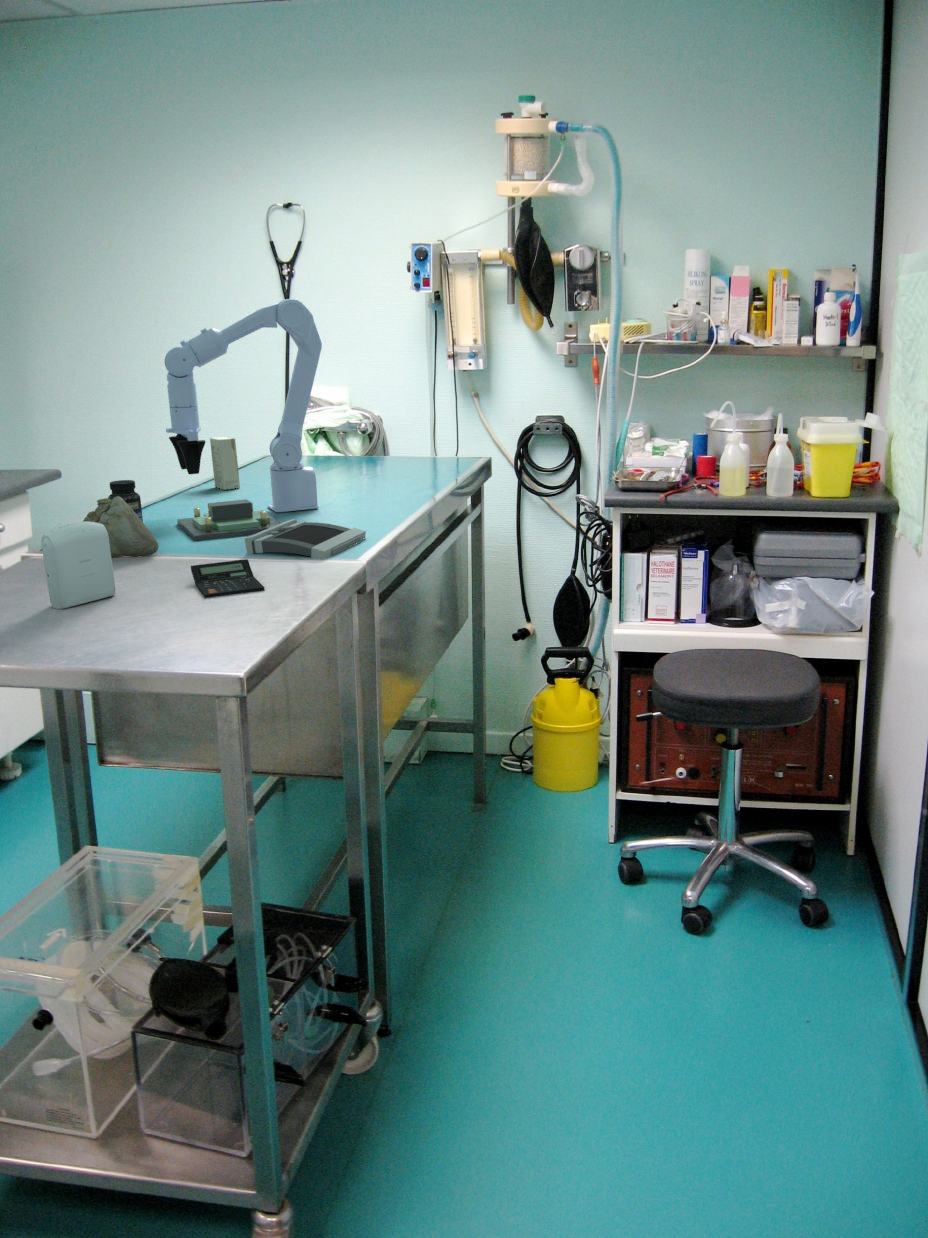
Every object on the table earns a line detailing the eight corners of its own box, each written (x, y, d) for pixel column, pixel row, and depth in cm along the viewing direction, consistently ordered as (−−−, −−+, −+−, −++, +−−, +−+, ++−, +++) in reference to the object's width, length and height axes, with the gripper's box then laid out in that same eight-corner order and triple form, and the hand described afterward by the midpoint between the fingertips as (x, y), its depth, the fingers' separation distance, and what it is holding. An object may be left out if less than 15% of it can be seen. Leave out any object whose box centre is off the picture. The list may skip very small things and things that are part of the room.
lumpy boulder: (135, 573, 187) (62, 541, 189) (161, 579, 198) (92, 549, 200) (160, 513, 187) (86, 483, 189) (185, 523, 198) (115, 494, 200)
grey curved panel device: (291, 519, 207) (366, 516, 201) (294, 542, 208) (369, 540, 203) (244, 538, 192) (324, 536, 186) (248, 563, 193) (327, 561, 187)
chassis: (263, 514, 226) (261, 498, 225) (286, 530, 211) (285, 513, 210) (177, 524, 219) (176, 507, 218) (195, 540, 204) (193, 522, 203)
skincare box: (240, 488, 258) (236, 438, 255) (223, 490, 256) (219, 439, 252) (230, 485, 263) (226, 435, 260) (213, 487, 261) (209, 437, 258)
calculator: (205, 600, 165) (203, 581, 164) (192, 582, 175) (190, 565, 174) (264, 592, 168) (263, 574, 167) (248, 575, 178) (247, 558, 178)
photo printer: (60, 611, 159) (49, 530, 156) (45, 606, 162) (34, 527, 158) (120, 596, 167) (111, 518, 163) (105, 591, 170) (96, 515, 166)
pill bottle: (135, 541, 204) (128, 484, 201) (106, 540, 206) (99, 484, 202) (150, 534, 210) (144, 479, 207) (122, 533, 211) (115, 478, 208)
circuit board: (256, 512, 224) (255, 494, 222) (274, 524, 211) (272, 505, 210) (189, 519, 218) (187, 500, 217) (203, 532, 206) (201, 512, 205)
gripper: (158, 404, 226) (164, 468, 230) (170, 410, 213) (177, 477, 217) (191, 402, 229) (197, 465, 233) (205, 408, 216) (211, 474, 220)
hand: (190, 471), depth 225 cm, fingers open, 7 cm apart
